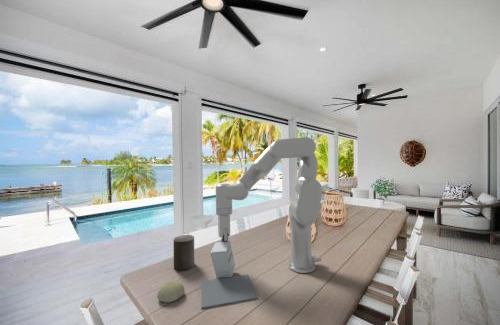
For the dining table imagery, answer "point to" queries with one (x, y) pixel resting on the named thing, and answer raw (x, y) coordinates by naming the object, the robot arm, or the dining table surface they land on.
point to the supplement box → (223, 259)
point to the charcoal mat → (227, 291)
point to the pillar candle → (183, 252)
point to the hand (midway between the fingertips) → (224, 249)
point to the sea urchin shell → (170, 291)
